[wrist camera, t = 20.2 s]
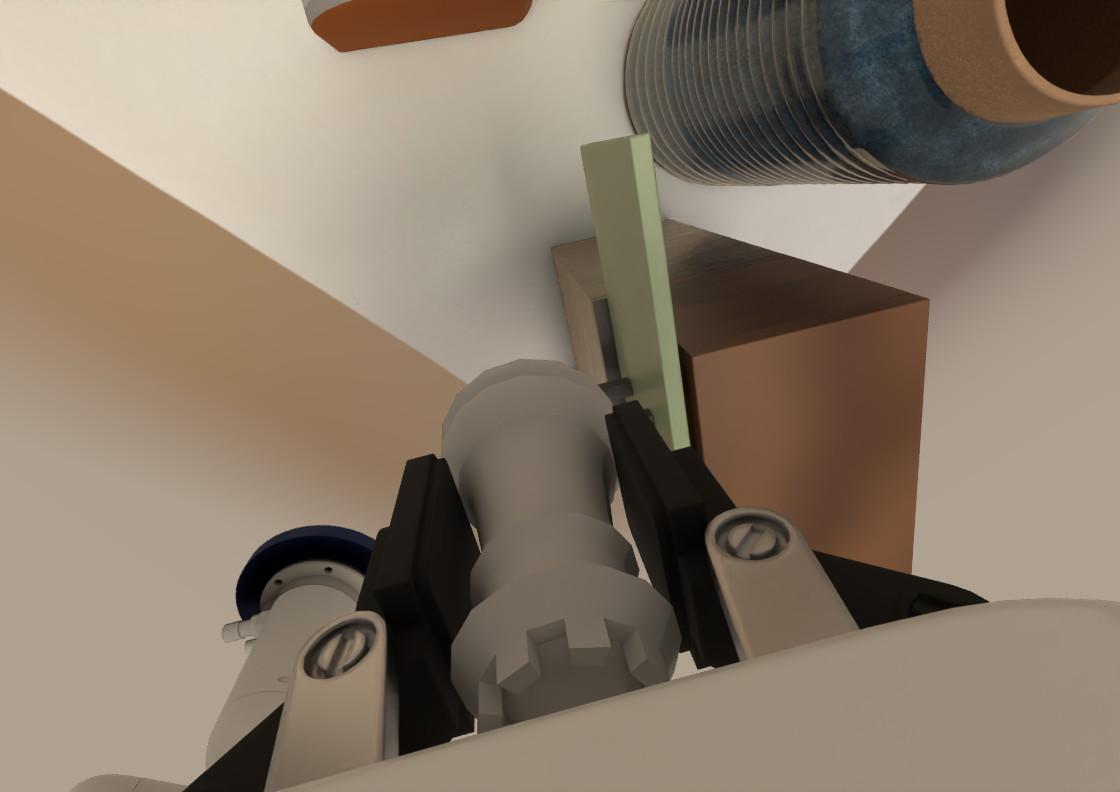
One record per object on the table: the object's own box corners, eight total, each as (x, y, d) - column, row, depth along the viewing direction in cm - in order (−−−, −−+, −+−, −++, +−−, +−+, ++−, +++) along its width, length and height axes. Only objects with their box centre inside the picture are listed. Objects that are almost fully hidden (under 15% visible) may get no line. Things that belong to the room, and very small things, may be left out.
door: (547, 428, 31) (571, 533, 22) (483, 168, 26) (481, 171, 17) (638, 405, 32) (698, 501, 23) (593, 142, 26) (650, 131, 17)
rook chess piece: (565, 318, 13) (668, 512, 6) (643, 458, 15) (796, 742, 8) (405, 408, 13) (311, 697, 6) (499, 534, 15) (513, 877, 8)
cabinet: (581, 391, 54) (687, 646, 25) (550, 247, 48) (643, 368, 20) (688, 365, 54) (911, 588, 26) (670, 219, 48) (930, 298, 20)
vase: (857, 52, 45) (1521, -146, 16) (726, 223, 49) (1070, 309, 20) (713, -105, 40) (1311, -811, 11) (580, 101, 44) (762, -18, 15)
